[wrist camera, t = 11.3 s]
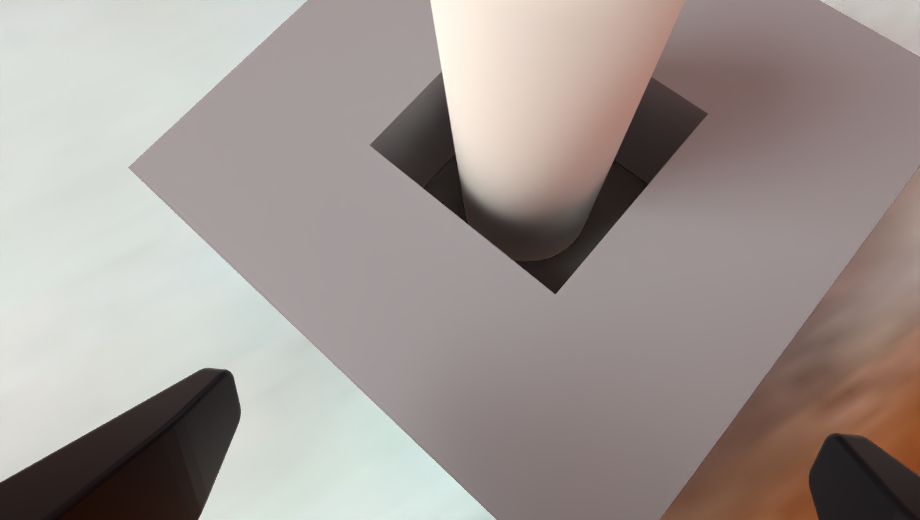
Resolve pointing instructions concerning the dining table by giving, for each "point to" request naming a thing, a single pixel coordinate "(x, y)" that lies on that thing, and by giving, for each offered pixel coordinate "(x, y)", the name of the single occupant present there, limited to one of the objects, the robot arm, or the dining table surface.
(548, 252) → the pink cylinder peg
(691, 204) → the well block
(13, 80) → the dining table surface
